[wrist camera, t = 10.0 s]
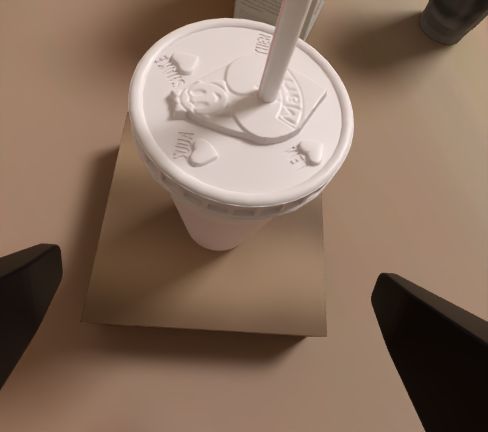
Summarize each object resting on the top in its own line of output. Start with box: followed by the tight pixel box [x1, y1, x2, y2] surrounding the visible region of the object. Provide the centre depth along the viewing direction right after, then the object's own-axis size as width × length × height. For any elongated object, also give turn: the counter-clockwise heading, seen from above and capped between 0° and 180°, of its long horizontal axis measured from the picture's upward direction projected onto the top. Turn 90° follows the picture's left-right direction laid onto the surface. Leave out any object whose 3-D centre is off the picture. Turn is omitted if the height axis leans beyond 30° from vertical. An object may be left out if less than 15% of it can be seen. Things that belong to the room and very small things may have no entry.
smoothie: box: [128, 0, 354, 251], centre depth 11 cm, size 6×6×14 cm
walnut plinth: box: [81, 112, 327, 337], centre depth 19 cm, size 12×12×3 cm
